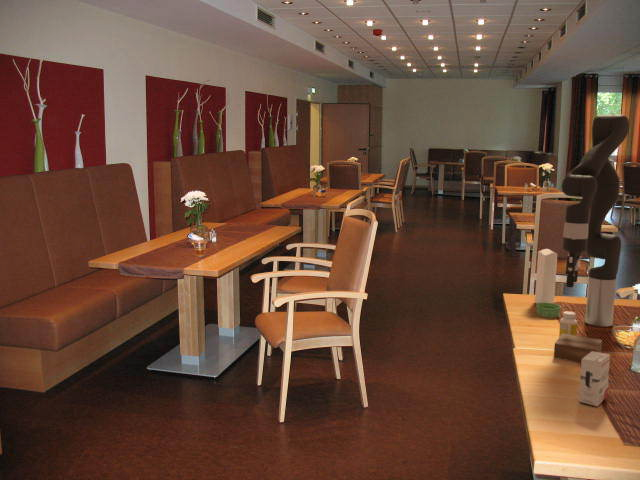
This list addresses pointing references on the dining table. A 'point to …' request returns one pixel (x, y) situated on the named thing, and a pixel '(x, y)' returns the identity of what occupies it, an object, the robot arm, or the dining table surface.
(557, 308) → the ramekin
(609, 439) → the dining table surface
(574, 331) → the supplement bottle
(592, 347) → the walnut plinth block
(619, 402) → the dining table surface
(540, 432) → the dining table surface
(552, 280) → the tall cream pillar
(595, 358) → the ink box
